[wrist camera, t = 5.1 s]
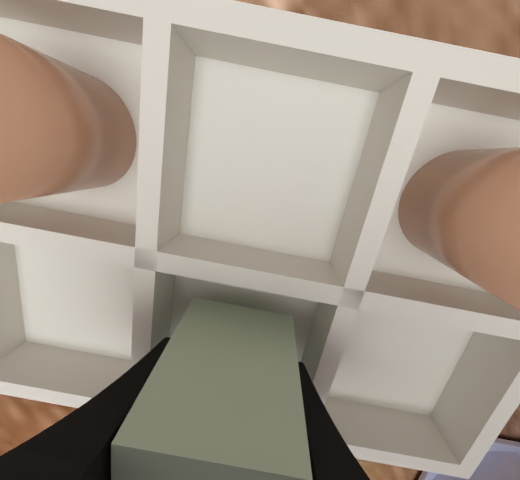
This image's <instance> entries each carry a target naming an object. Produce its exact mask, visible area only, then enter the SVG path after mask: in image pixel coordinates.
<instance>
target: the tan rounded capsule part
mask: <svg viewBox="0 0 520 480" xmlns="http://www.w3.org/2000/svg"><path fill="white" fill-rule="evenodd" d="M135 152H136V132H135V127H134V123H133V120H132V117H131V115H130V112H129V111H128V109H127V107H126V105H125V104H124V102H123V101H122V99H121V98H120V97H119V95H118V94H117V93H116V92H115V91H114V90H113V89H112V88H111V87H110V86H108V85H107V84H106V83H104V82H103V81H101V80H99V79H98V78H96V77H94V76H91V75H89V74H87V73H85V72H83V71H81V70H78V69H76V68H74V67H72V66H70V65H68V64H65V63H63V62H61V61H59V60H57V59H55V58H52V57H50V56H48V55H46V54H44V53H42V52H39V51H37V50H35V49H33V48H31V47H29V46H26V45H24V44H22V43H20V42H18V41H16V40H13V39H11V38H9V37H7V36H5V35H3V34H0V203H6V202H13V201H19V200H25V199H31V198H37V197H44V196H50V195H56V194H62V193H68V192H75V191H81V190H87V189H93V188H99V187H105V186H108V185H111V184H113V183H115V182H117V181H118V180H119V179H121V178H122V177H123V176H124V175H125V174H126V172H127V171H128V170H129V168H130V166H131V164H132V162H133V159H134V156H135Z"/></svg>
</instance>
